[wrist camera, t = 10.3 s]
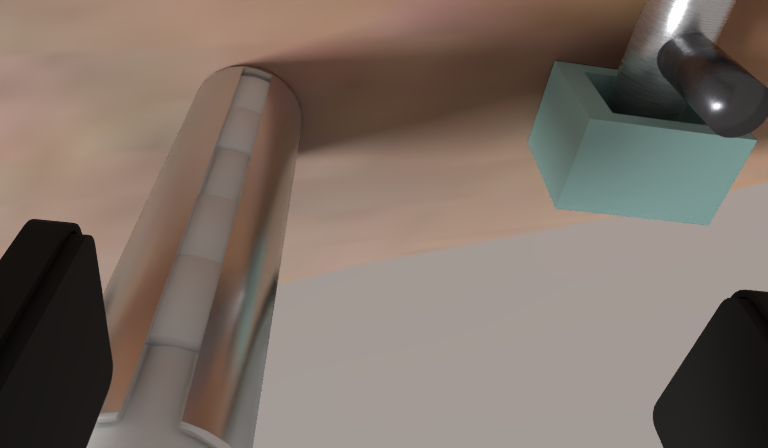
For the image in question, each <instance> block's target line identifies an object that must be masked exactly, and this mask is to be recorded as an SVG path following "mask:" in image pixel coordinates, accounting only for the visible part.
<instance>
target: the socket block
mask: <svg viewBox="0 0 768 448" xmlns="http://www.w3.org/2000/svg"><path fill="white" fill-rule="evenodd" d="M617 72H618V70H617V69H610V68H603V67H595V66H588V65H581V64H574V63H567V62H560V61H554V64H553V67H552V70H551V73H550V76H549V79H548V82H547V85H546V88H545V91H544V94H543V97H542V100H541V103H540V107H539V110H538V113H537V116H536V119H535V122H534V125H533V128H532V131H531V134H530V137H529V140H528V144H529V147H530V149H531V152H532V154H533V156H534V159H535V161H536V163H537V166H538V168H539V171H540V173H541V175H542V178H543V180H544V182H545V185H546V187H547V189H548V192H549V194H550V197H551V199H552V201H553V204H554V206H555V208H556V209H565V210H574V211H583V212H592V213H601V214H610V215H619V216H628V217H637V218H646V219H655V220H664V221H673V222H682V223H691V224H700V225H709V224H710V222H711V221H712V219H713V217H714V215H715V213H716V212H717V210H718V208H719V207H720V205H721V203H722V201H723V200H724V198H725V196H726V194H727V193H728V191H729V189H730V188H731V186H732V184H733V182H734V181H735V179H736V177H737V175H738V174H739V172H740V170H741V169H742V167H743V165H744V163H745V162H746V160H747V158H748V156H749V155H750V153H751V151H752V149H753V148H754V146H755V144H756V143H757V141H758V140H757V139H756V138H755V137H754V136H753V135H752V134H751V133H748V134H746V135H743V136H740V137H735V138H725V137H721V136H719V135H717V134H716V133H714V131H713V130H712V129H711V128H710V127H709V126H708V125H707V124H706V123H705V122H704V121H703V119H702V118H701V117H700V116H699V115H698V114H697V113H696V112H695V111H694V110H693V108H692V107H691V106H690V105H689V104H688V103H687V105H686V107H685V109H684V111H683V113H682V115H681V117H680V120H679V122H676V121H669V120H661V119H653V118H646V117H638V116H630V115H623V114H615V113H612V112H611V110H610V109H609V107H608V106H607V104H606V103H605V102H606V99H607V97H608V94H609V92H610V89H611V87H612V84H613V82H614V79H615V77H616V74H617Z"/></svg>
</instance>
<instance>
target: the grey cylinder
mask: <svg viewBox="0 0 768 448" xmlns="http://www.w3.org/2000/svg"><path fill="white" fill-rule="evenodd" d="M301 124H302V114H301V109H300V105H299V103H298V101H297V98H296V96H295V94H294V93H293V91H292V90H291V89H290V88H289V87H288V86H287V84H286V83H285V82H284V81H282V80H281V79H279V78H278V77H277V76H275V75H274V74H272V73H270V72H267V71H265V70H262V69H260V68H256V67H249V66H236V67H228V68H226V69H223V70H220V71H218V72H216V73H214V74H213V75H212V76H210V77H209V78H208V79H206V80H205V81H204V83H203V84H202V86H201V87H200V88H199V90H198V91H197V94H196V96H195V98H194V100H193V102H192V104H191V106H190V109H189V111H188V113H187V115H186V117H185V119H184V121H183V124H182V126H181V128H180V130H179V132H178V134H177V136H176V139H175V141H174V143H173V145H172V147H171V149H170V152H169V154H168V156H167V158H166V160H165V162H164V164H163V167H162V169H161V171H160V173H159V175H158V177H157V179H156V182H155V184H154V186H153V188H152V190H151V192H150V194H149V197H148V199H147V201H146V203H145V205H144V207H143V209H142V212H141V214H140V216H139V218H138V220H137V222H136V225H135V227H134V229H133V231H132V233H131V235H130V237H129V240H128V242H127V244H126V246H125V248H124V250H123V252H122V255H121V257H120V259H119V261H118V263H117V265H116V267H115V270H114V272H113V274H112V276H111V278H110V280H109V282H108V285H107V287H106V289H105V291H104V293H103V300H104V307H105V314H106V320H107V327H108V334H109V340H110V347H111V353H112V360H113V375H112V380H111V385H110V388H109V391H108V393H107V396H106V399H105V401H104V404H103V406H102V409H101V411H100V414H99V417H98V419H97V422H96V424H95V427H94V430H93V432H92V435H91V437H90V440H89V442H88V445H87V448H253V442H254V436H255V429H256V423H257V416H258V409H259V403H260V396H261V390H262V383H263V377H264V370H265V363H266V357H267V350H268V344H269V337H270V330H271V324H272V316H273V310H274V304H275V297H276V291H277V284H278V278H279V271H280V264H281V258H282V251H283V245H284V238H285V231H286V225H287V218H288V212H289V205H290V198H291V192H292V185H293V179H294V172H295V165H296V159H297V152H298V146H299V139H300V132H301Z"/></svg>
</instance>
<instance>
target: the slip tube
mask: <svg viewBox="0 0 768 448" xmlns="http://www.w3.org/2000/svg"><path fill="white" fill-rule="evenodd" d="M736 1H737V0H646V1H645V4H644V6H643V9H642V11H641V14H640V16H639V19H638V21H637V24H636V26H635V29H634V31H633V34H632V36H631V39H630V42H629V44H628V47H627V49H626V52H625V54H624V57H623V59H622V62H621V64H620V67H619V69H618V72H617V74H616V77H615V79H614V82H613V84H612V87H611V89H610V92H609V94H608V97H607V99H606V102H605V103H606V104H607V106H608V107H609V109H610V110H611V112H612V113H615V114H623V115H630V116H638V117H646V118H653V119H661V120H669V121H676V122H679V120H680V117H681V115H682V113H683V111H684V109H685V107H686V105H687V103H688V104H689V105H690V106H691V107H692V108H693V110H694V111H695V112H696V113H697V114H698V115H699V116H700V117H701V118H702V119H703V121H704V122H705V123H706V124H707V125H708V126H709V127H710V128H711V129H712V130H713V131H714V133H716V134H717V135H719V136H721V137H725V138H735V137H740V136H743V135H746V134H748V133H750V132H752V131H753V130H755V129H756V128H758V127H759V126H760V125H761V124H762V123H763V122H764V121H765V119H766V118H767V117H768V88H767V87H765V86H764V85H763V84H762V83H761V82H759V81H758V80H757V79H756V78H755V77H754V76H752V75H751V74H750V73H749V72H748V71H746V70H745V69H744V68H743V67H742V66H740V65H739V64H738V63H737V62H736V61H735V60H733V59H732V58H731V57H730V56H729V55H727V54H726V53H725V52H724V51H723V50H722V49H720V48H719V47H718V46H717V45H716V43H717V41H718V39H719V37H720V35H721V32H722V30H723V28H724V26H725V24H726V22H727V20H728V18H729V16H730V14H731V12H732V10H733V8H734V6H735V3H736Z"/></svg>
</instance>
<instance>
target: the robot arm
mask: <svg viewBox="0 0 768 448" xmlns="http://www.w3.org/2000/svg"><path fill="white" fill-rule="evenodd" d="M112 375H113V360H112V353H111V347H110V340H109V334H108V327H107V320H106V314H105V307H104V300H103V294H102V287H101V281H100V274H99V267H98V261H97V254H96V248H95V242H94V239H93V237H92V236H90V235H82V233H81V229H80V227H79V226H78V224H76V223H69V222H59V221H49V220H39V219H32V220H29V221H28V222H27V223H26V224H25V225H24V226H23V228H22V229H21V231H20V232H19V234H18V235H17V236H16V238H15V239H14V241H13V242H12V244H11V245H10V246H9V248H8V249H7V251H6V252H5V254H4V255H3V257H2V258H1V259H0V448H87V445H88V442H89V440H90V437H91V435H92V432H93V430H94V427H95V424H96V422H97V419H98V417H99V414H100V411H101V409H102V406H103V404H104V401H105V399H106V396H107V393H108V391H109V388H110V385H111V380H112ZM653 421H654V426H655V429H656V431H657V434H658V436H659V438H660V440H661V443H662V445H663V447H664V448H768V292H763V291H753V290H739V291H737V292H735V293H734V294H733V295H732V296H731V298H727V299H726V300H724V301H723V302H722V303H721V304H720V306H719V307H718V309H717V310H716V312H715V314H714V315H713V317H712V318H711V320H710V321H709V323H708V324H707V326H706V327H705V329H704V330H703V332H702V333H701V335H700V336H699V338H698V340H697V341H696V343H695V344H694V346H693V347H692V349H691V350H690V352H689V353H688V355H687V356H686V358H685V360H684V361H683V363H682V364H681V366H680V367H679V369H678V370H677V372H676V373H675V375H674V376H673V378H672V379H671V381H670V382H669V384H668V386H667V387H666V389H665V390H664V392H663V393H662V395H661V396H660V398H659V399H658V401H657V403H656V405H655V406H654V411H653Z"/></svg>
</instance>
